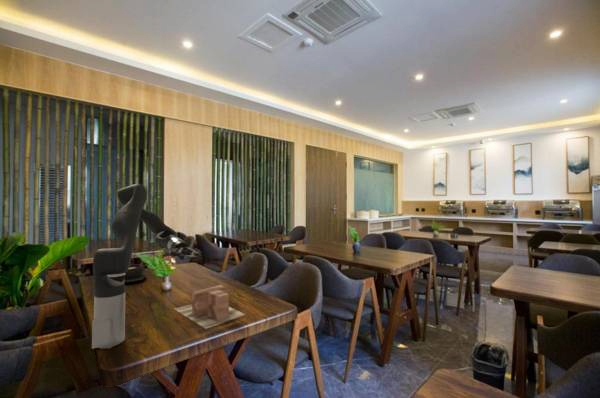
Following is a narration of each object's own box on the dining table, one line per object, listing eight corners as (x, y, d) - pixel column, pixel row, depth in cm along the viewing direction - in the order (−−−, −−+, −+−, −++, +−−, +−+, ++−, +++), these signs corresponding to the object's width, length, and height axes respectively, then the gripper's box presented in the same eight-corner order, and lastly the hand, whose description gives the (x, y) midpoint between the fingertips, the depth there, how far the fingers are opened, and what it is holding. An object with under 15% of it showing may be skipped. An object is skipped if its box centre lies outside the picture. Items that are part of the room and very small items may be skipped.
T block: (191, 314, 122) (192, 291, 122) (220, 306, 133) (220, 284, 133) (208, 324, 113) (208, 299, 113) (237, 314, 123) (237, 291, 123)
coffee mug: (115, 296, 147) (116, 277, 147) (102, 295, 149) (102, 276, 149) (133, 289, 158) (133, 272, 158) (120, 288, 160) (120, 271, 160)
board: (173, 310, 129) (173, 308, 129) (211, 300, 143) (211, 298, 143) (205, 330, 109) (205, 328, 109) (245, 316, 123) (245, 314, 123)
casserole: (108, 278, 181) (108, 265, 181) (140, 273, 194) (140, 261, 194) (115, 287, 163) (116, 272, 163) (151, 281, 175) (151, 267, 175)
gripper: (165, 239, 137) (179, 250, 126) (192, 239, 148) (207, 250, 137) (161, 253, 138) (175, 266, 127) (189, 253, 148) (204, 265, 137)
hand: (192, 257), depth 132 cm, fingers open, 8 cm apart
